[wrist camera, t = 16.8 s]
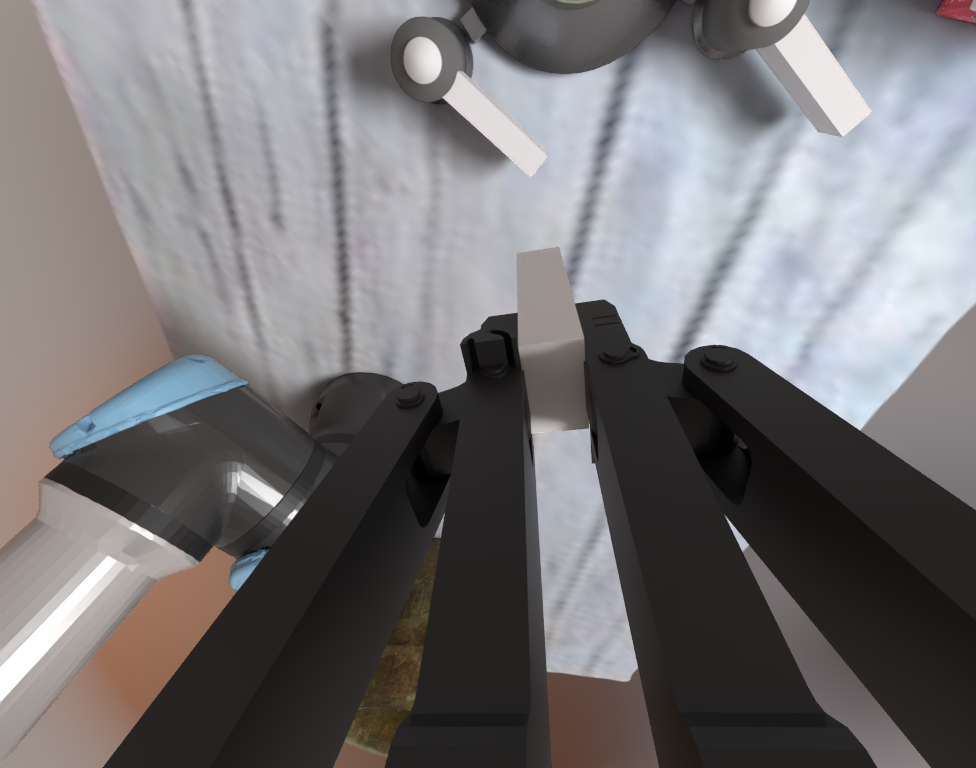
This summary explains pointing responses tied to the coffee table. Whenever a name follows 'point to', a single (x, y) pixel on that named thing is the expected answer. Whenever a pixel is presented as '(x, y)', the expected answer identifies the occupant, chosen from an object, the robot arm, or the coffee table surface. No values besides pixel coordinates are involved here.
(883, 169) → the coffee table surface
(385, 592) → the robot arm
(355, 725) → the clay pot
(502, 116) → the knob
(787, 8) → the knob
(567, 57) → the base
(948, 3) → the ink box
